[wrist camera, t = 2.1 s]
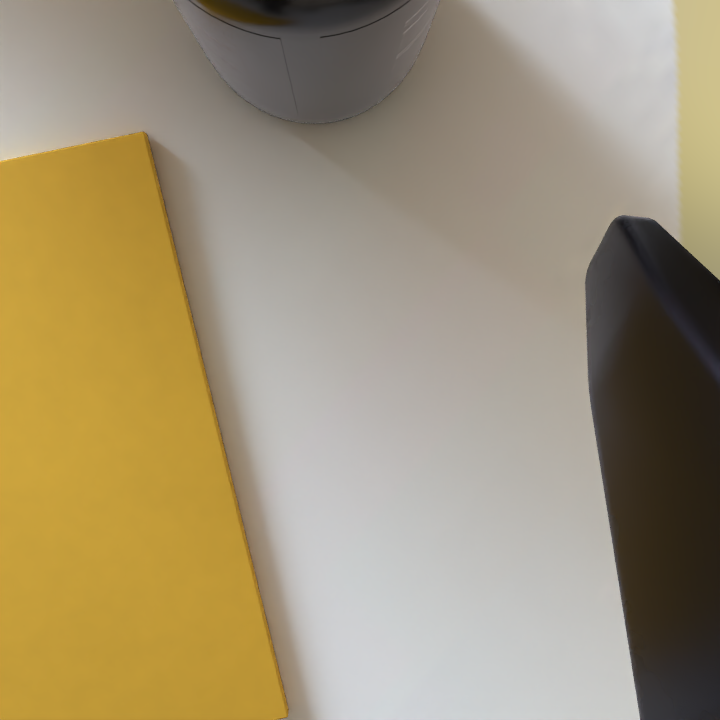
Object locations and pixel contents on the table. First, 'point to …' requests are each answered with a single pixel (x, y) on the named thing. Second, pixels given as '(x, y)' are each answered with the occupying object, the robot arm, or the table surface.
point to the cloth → (114, 463)
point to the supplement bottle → (311, 51)
